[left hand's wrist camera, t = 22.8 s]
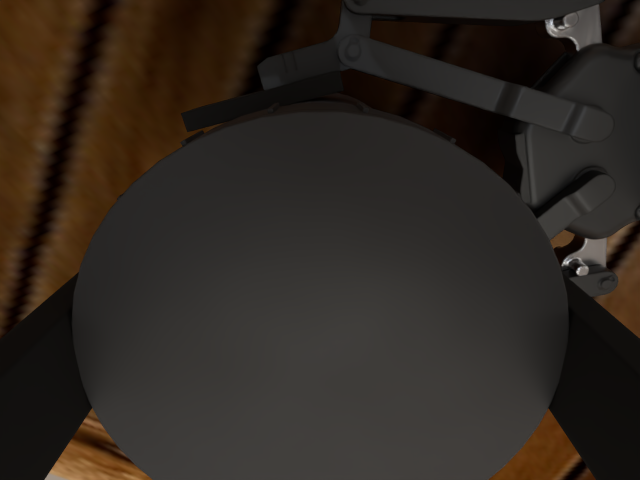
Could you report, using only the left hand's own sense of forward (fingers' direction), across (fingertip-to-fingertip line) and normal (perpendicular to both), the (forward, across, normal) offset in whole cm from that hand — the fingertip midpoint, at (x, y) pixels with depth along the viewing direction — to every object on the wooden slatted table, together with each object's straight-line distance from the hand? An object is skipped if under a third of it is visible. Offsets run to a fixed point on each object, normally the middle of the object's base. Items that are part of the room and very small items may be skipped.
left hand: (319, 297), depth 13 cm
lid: (-3, 0, 0) cm, 3 cm away
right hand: (+8, -4, -1) cm, 9 cm away
